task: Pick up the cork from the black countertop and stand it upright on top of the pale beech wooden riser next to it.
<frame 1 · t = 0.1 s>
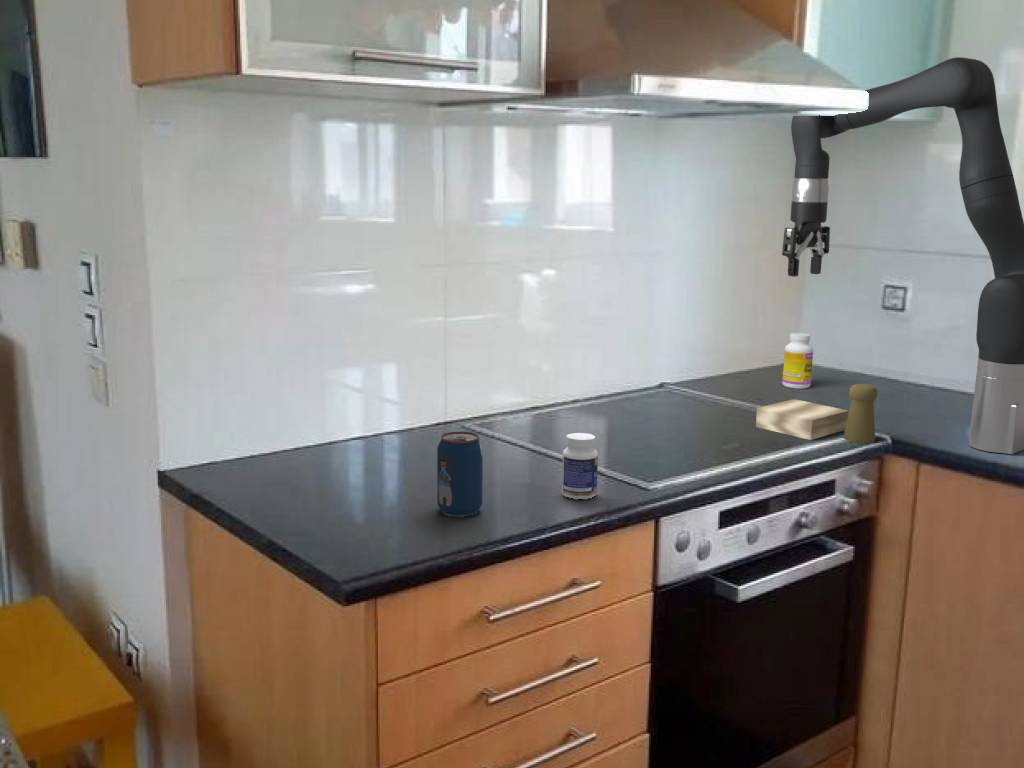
hand: (804, 275, 227), 29 cm above the counter, fingers open, 8 cm apart
supplement bottle: (796, 387, 252), on the counter
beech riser: (801, 428, 213), on the counter
soda can: (459, 512, 160), on the counter
cork: (859, 439, 205), on the counter
pill bottle: (579, 496, 169), on the counter
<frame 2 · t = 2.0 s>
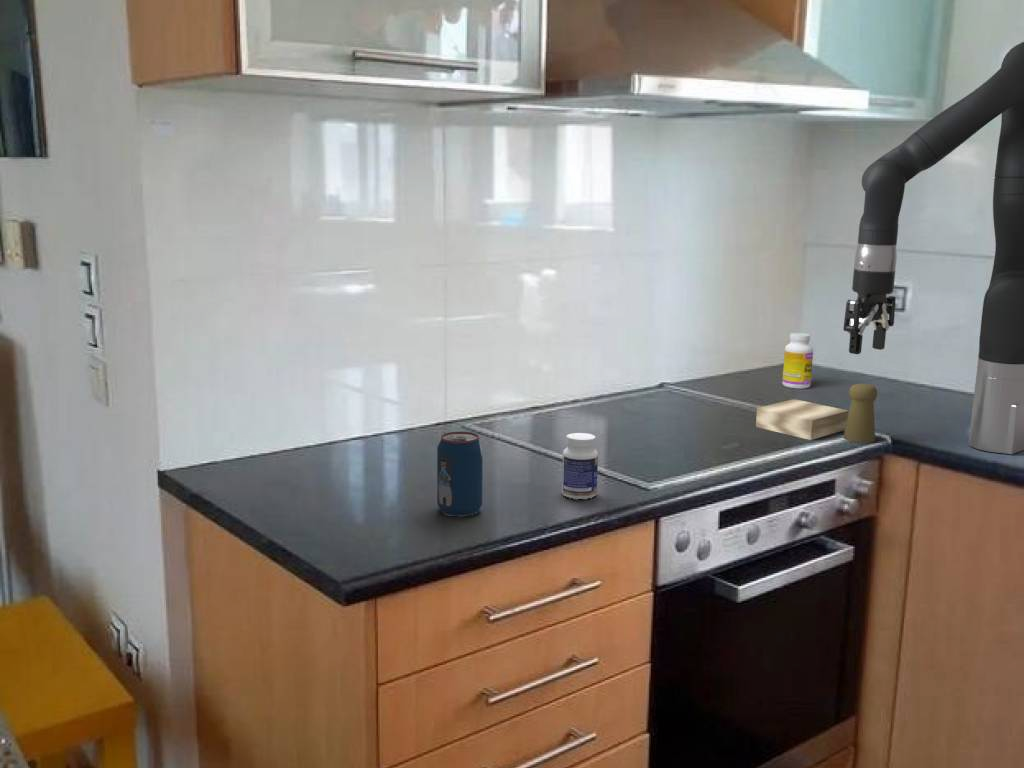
hand: (866, 351, 202), 18 cm above the counter, fingers open, 8 cm apart
nothing on the counter moved.
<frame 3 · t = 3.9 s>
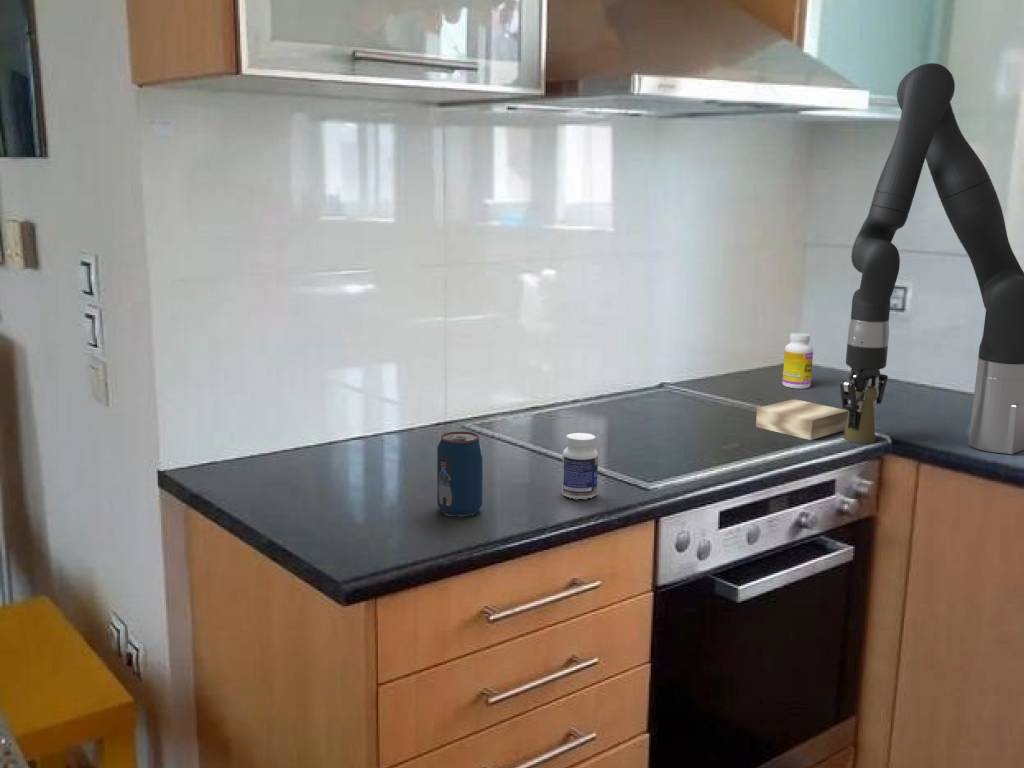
hand: (860, 427, 205), 2 cm above the counter, fingers closed on cork, 4 cm apart
cork: (859, 439, 205), on the counter, touching gripper
everything else where it was.
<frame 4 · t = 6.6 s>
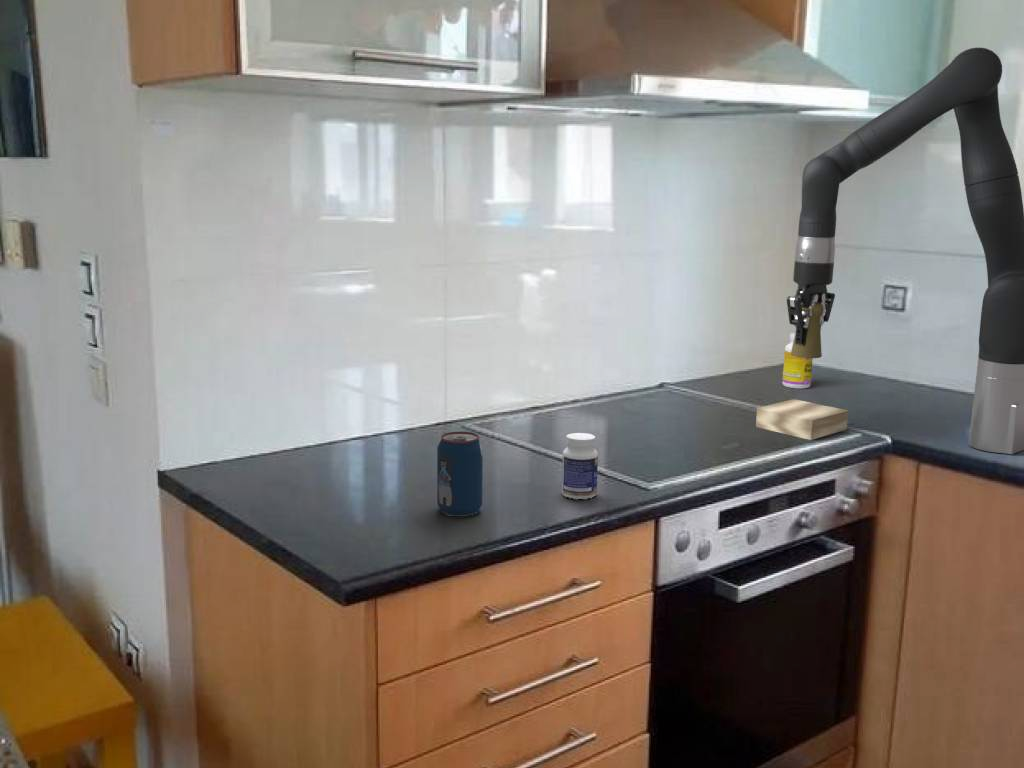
hand: (807, 344, 209), 17 cm above the counter, fingers closed on cork, 4 cm apart
cork: (806, 356, 210), point 15 cm above the counter, touching gripper
everything else where it was.
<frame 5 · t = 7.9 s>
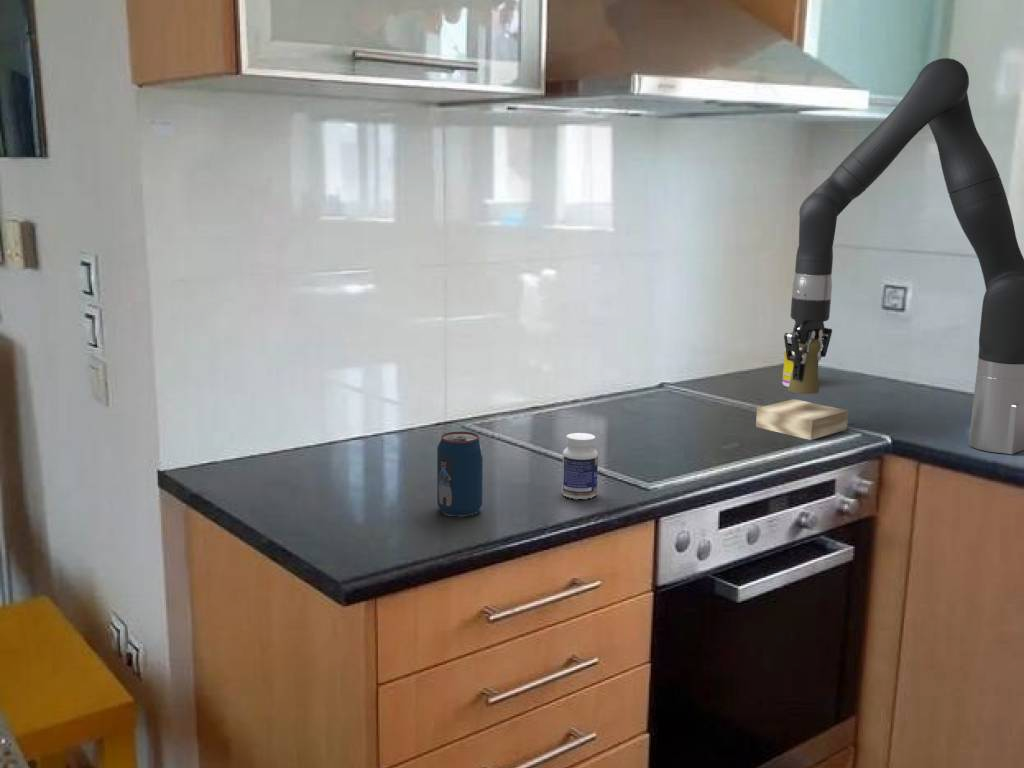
hand: (804, 379, 211), 10 cm above the counter, fingers closed on cork, 4 cm apart
cork: (803, 391, 211), point 8 cm above the counter, touching gripper
everything else where it was.
when the fingers open (7 cm above the counter, at t = 9.2 s): cork stays where it is, resting on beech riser.
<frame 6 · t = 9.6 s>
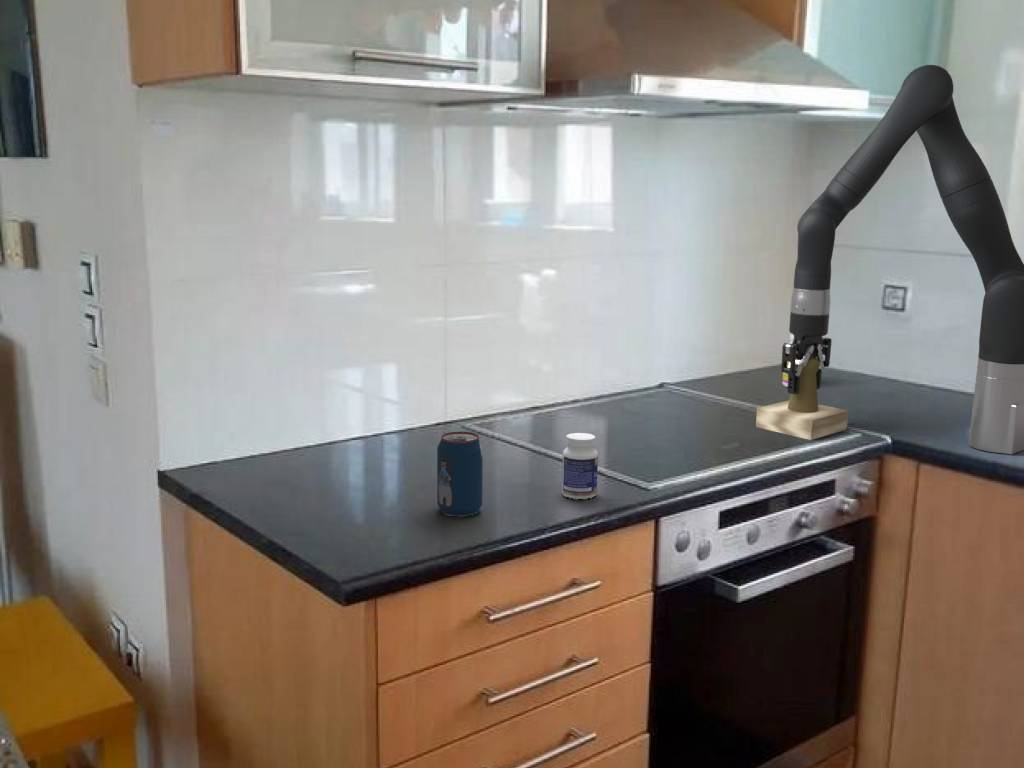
hand: (803, 390, 211), 8 cm above the counter, fingers open, 7 cm apart
cork: (802, 410, 212), point 4 cm above the counter, touching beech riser
everything else where it was.
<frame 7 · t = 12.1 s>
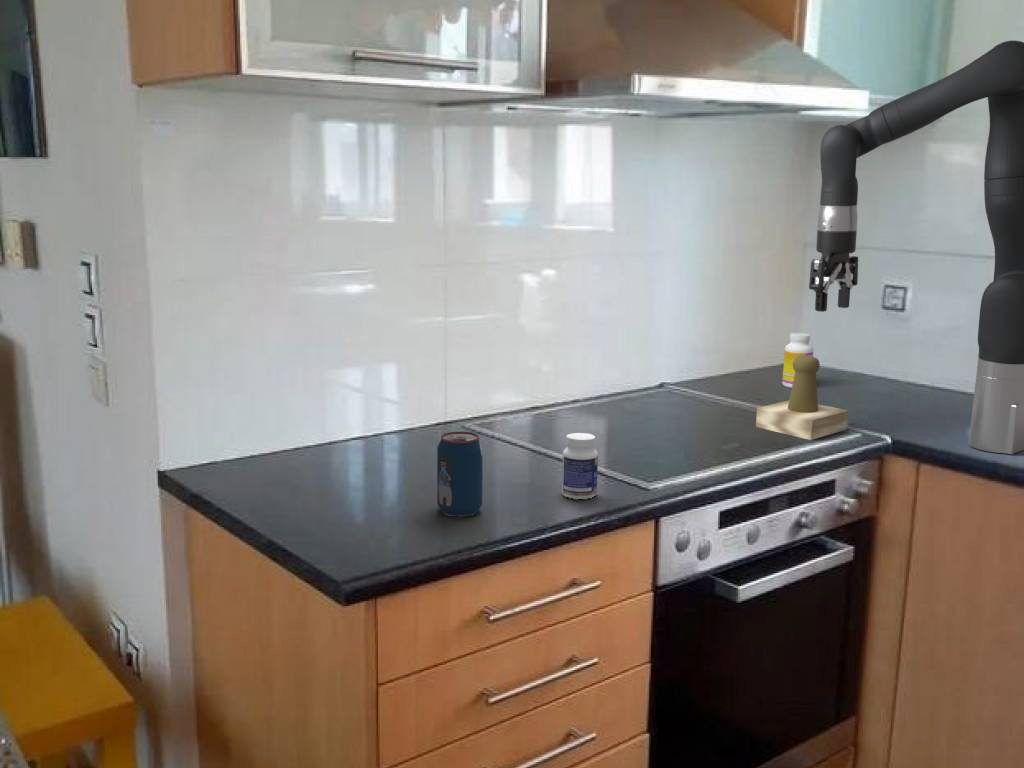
hand: (832, 309, 210), 24 cm above the counter, fingers open, 8 cm apart
nothing on the counter moved.
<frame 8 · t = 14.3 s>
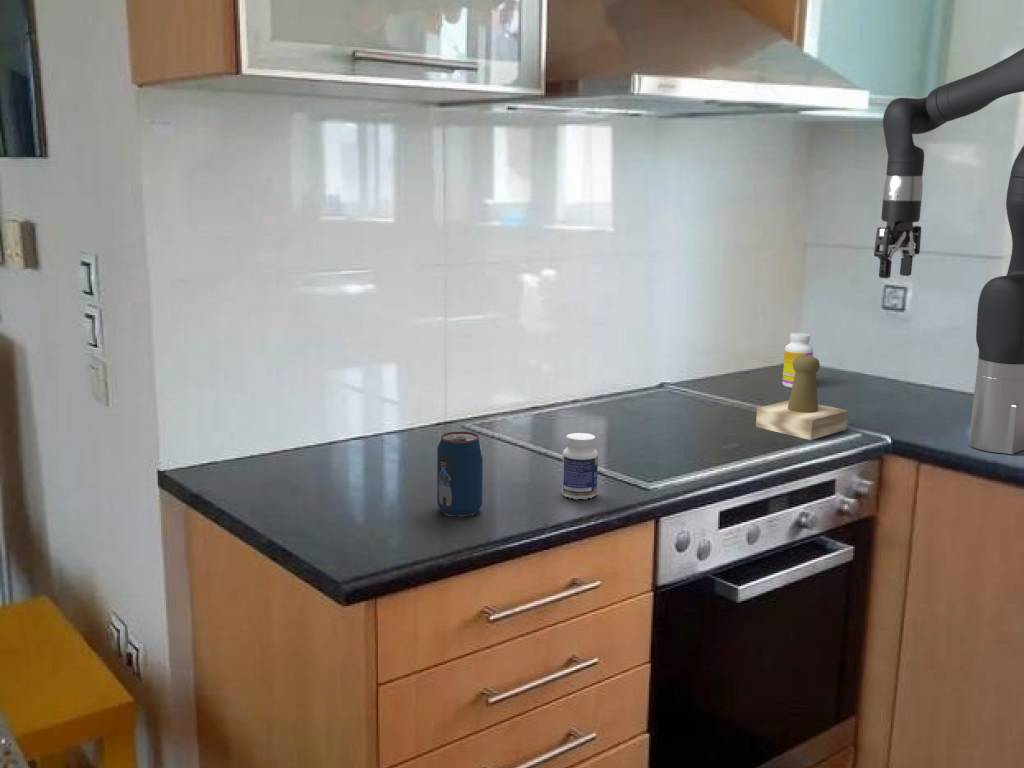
hand: (895, 276, 218), 30 cm above the counter, fingers open, 8 cm apart
nothing on the counter moved.
at the end: cork inside the target area on the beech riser (0.1 cm from its centre), point 3.8 cm above the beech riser's base; cork tilted 0°; the gripper is holding nothing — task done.
